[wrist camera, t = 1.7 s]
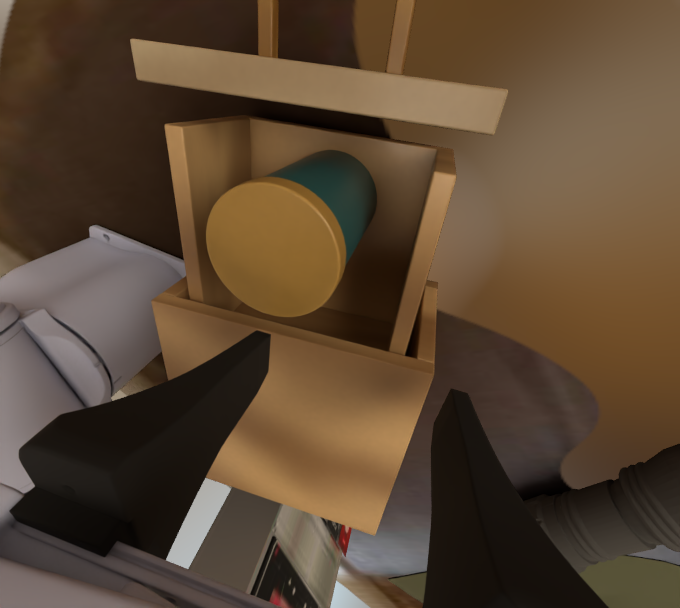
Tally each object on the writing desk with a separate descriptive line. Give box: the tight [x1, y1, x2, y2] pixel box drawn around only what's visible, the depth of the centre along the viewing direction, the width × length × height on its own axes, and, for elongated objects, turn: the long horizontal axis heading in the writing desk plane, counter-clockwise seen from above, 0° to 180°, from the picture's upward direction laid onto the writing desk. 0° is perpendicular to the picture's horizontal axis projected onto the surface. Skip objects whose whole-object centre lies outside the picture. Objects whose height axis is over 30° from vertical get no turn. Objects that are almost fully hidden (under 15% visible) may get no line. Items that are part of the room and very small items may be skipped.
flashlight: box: [523, 444, 680, 574], centre depth 24 cm, size 15×5×5 cm, turn 146°
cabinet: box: [151, 276, 438, 535], centre depth 23 cm, size 15×14×9 cm
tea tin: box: [206, 150, 377, 317], centre depth 15 cm, size 5×5×8 cm
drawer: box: [130, 0, 508, 356], centre depth 16 cm, size 18×12×7 cm
